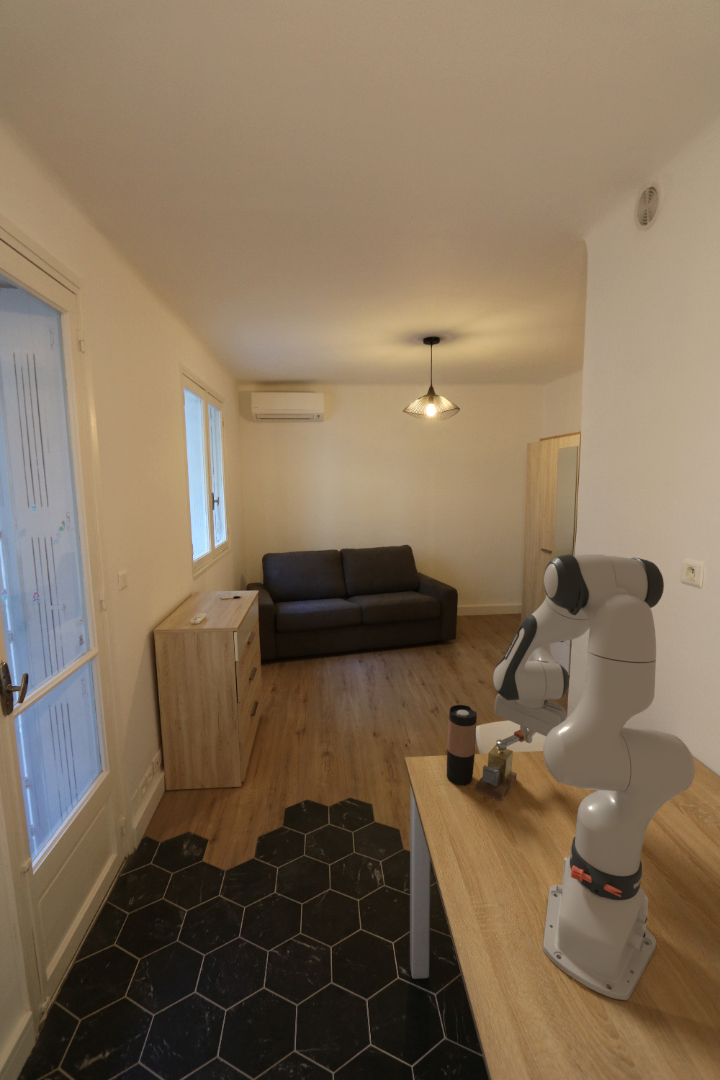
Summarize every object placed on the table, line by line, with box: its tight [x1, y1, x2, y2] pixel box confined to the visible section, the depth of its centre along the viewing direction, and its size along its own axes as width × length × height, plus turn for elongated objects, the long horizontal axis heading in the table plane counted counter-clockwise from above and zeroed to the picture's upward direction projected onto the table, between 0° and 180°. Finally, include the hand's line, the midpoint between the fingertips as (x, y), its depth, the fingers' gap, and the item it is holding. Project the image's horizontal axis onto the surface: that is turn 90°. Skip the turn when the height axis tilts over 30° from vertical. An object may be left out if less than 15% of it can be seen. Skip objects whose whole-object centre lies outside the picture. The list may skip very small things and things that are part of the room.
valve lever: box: [495, 728, 530, 750], centre depth 135 cm, size 12×3×2 cm, turn 124°
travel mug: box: [446, 704, 478, 787], centre depth 134 cm, size 8×8×20 cm
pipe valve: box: [481, 744, 514, 788], centre depth 131 cm, size 11×5×8 cm, turn 143°
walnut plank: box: [474, 771, 518, 803], centre depth 132 cm, size 12×7×2 cm, turn 143°
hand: (527, 741), depth 135 cm, fingers closed
